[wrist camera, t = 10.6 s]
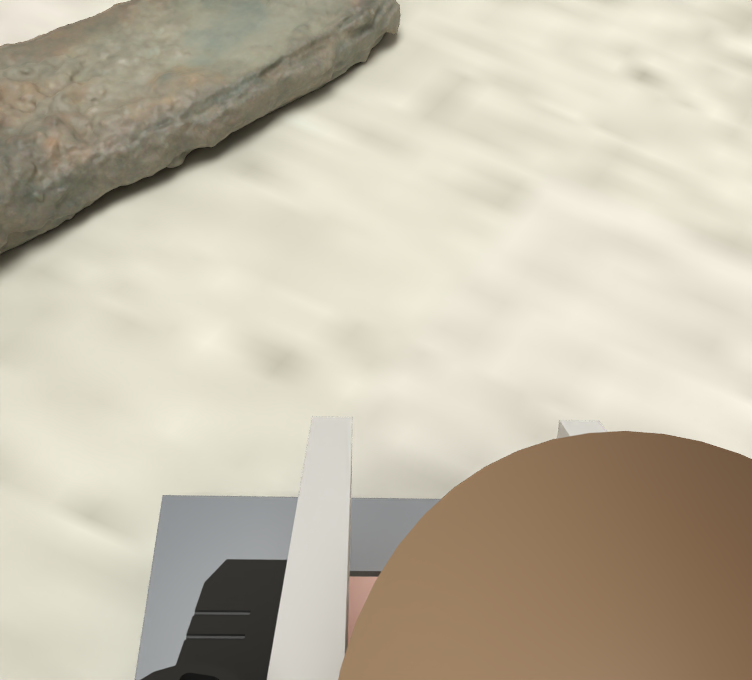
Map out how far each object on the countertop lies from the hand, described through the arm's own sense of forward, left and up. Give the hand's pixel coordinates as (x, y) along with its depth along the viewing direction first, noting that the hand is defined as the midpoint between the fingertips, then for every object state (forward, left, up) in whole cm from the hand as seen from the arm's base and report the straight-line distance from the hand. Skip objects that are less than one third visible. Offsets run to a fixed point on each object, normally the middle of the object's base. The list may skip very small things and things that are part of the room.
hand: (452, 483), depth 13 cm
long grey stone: (-15, +16, -10) cm, 24 cm away
